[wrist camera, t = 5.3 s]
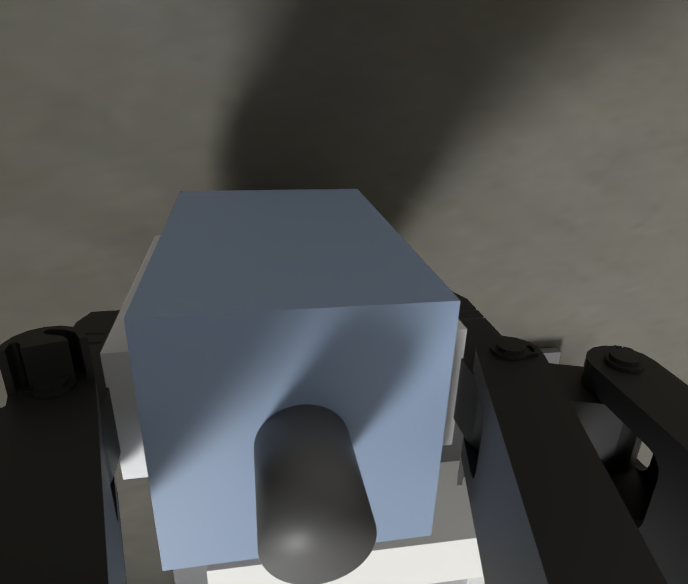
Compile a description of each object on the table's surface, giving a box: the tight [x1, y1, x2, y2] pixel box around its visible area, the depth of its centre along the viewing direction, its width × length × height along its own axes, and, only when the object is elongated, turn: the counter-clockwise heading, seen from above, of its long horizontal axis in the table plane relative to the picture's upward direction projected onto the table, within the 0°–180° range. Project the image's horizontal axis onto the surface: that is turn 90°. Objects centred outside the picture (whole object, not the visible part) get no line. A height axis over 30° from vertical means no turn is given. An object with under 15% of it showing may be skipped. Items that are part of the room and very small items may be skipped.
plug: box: [124, 189, 460, 584], centre depth 12 cm, size 5×5×10 cm
